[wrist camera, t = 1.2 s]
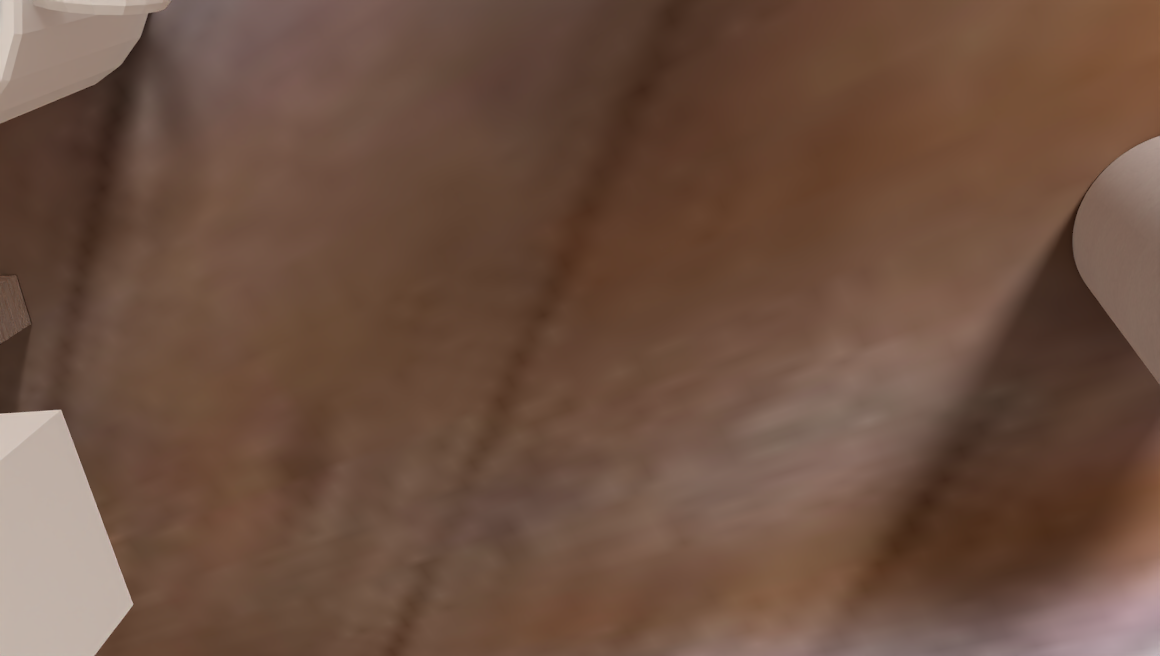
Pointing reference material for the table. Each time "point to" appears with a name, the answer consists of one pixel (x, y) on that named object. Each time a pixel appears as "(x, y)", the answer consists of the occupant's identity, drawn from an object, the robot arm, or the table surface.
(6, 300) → the twin slotted uprights
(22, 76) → the mug
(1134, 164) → the coffee cup
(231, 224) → the table surface
